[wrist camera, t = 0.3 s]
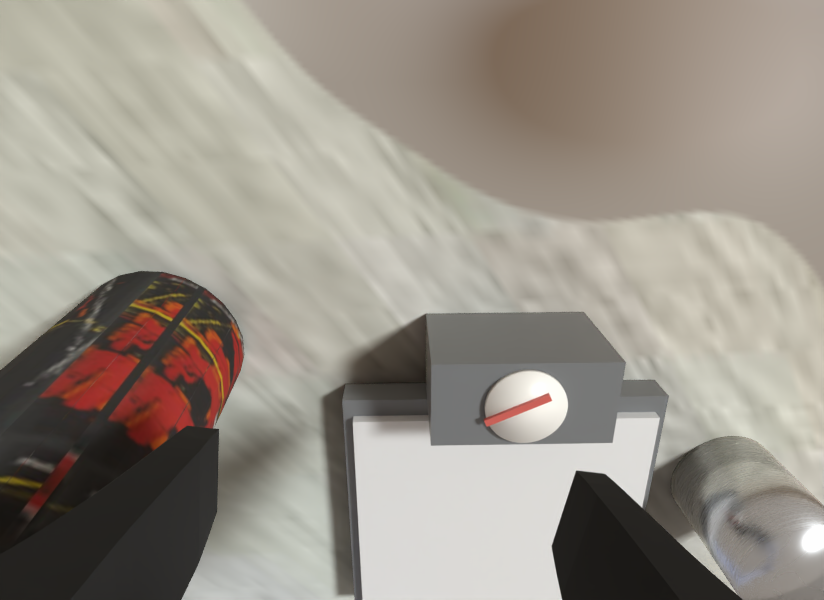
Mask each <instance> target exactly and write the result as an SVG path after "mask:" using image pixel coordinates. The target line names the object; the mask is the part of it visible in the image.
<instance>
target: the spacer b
mask: <svg viewBox="0 0 824 600" xmlns="http://www.w3.org/2000/svg"><path fill="white" fill-rule="evenodd" d="M671 492H672V495H673V498H674V500H675V501H676V503H677V504H678V506H679V507H680V509H681V510H682V512H683V513H684V515H685V516H686V518H687V519H688V521H689V522H690V524H691V525H692V527H693V528H694V530H695V531H696V533H697V534H698V536H699V537H700V539H701V540H702V542H703V543H704V545H705V546H706V548H707V549H708V551H709V552H710V554H711V555H712V557H713V558H714V560H715V561H716V563H717V564H718V566H719V567H720V569H721V570H722V572H723V573H724V575H725V576H726V578H727V579H728V581H729V582H730V584H731V585H732V587H733V588H734V590H735V591H736V593H737V594H738V596H739V597H740V598H741V599H743V600H824V505H823V504H822V503H821V502H820V501H819V500H818V499H816V498H815V497H814V496H813V495H812V494H811V493H810V492H809V491H808V490H807V489H806V488H805V487H804V486H803V485H802V484H801V483H800V482H799V481H798V480H797V479H796V478H795V477H794V476H793V475H792V474H791V473H790V472H789V471H788V470H787V469H786V468H785V467H784V466H783V465H782V464H781V463H780V462H779V461H778V460H777V459H776V458H775V457H774V456H773V455H772V454H771V453H770V452H769V451H767V450H766V449H765V448H764V447H763V446H762V445H761V444H760V443H758V442H756V441H754V440H752V439H749V438H746V437H740V436H727V437H720V438H716V439H713V440H710V441H707V442H705V443H703V444H701V445H699V446H697V447H696V448H694V449H693V450H691V451H690V452H689V453H688V454H687V455H686V456H685V457H684V458H683V459H682V460H681V461H680V462H679V464H678V465H677V467H676V468H675V471H674V473H673V476H672V479H671Z"/></svg>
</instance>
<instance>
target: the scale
mask: <svg viewBox="0 0 824 600" xmlns="http://www.w3.org/2000/svg"><path fill="white" fill-rule="evenodd" d="M625 364H626V362H625V361H624V360H623V358H622V357H621V356H620V355H619V354H618V352H617V351H616V350H615V349H614V348H613V346H612V345H611V344H610V343H609V342H608V340H607V339H606V338H605V337H604V336H603V334H602V333H601V332H600V331H599V330H598V328H597V327H596V326H595V325H594V324H593V322H592V321H591V320H590V319H589V318H588V316H587V315H586V314H585V313H584V312H546V313H457V314H426V383H390V384H345V389H344V394H343V399H342V406H343V422H344V438H345V454H346V470H347V485H348V501H349V517H350V533H351V549H352V565H353V581H354V597H355V600H562V597H561V592H560V588H559V583H558V578H557V574H556V568H555V563H554V557H553V552H552V547H551V546H552V543H553V540H554V537H555V534H556V531H557V528H558V525H559V522H560V518H561V515H562V512H563V509H564V506H565V503H566V500H567V497H568V494H569V491H570V488H571V485H572V482H573V478H574V475H575V472H576V470H577V471H586V472H595V473H603V474H606V475H607V476H608V477H609V478H611V479H612V480H613V481H614V482H615V483H616V484H617V485H618V486H620V487H621V488H622V489H623V490H624V491H625V492H626V493H627V494H628V495H629V496H630V497H631V498H632V499H633V500H634V501H636V502H637V503H638V504H639V505H640V506H641V507H642V508H643V509H644V510H645V511H646V506H647V501H648V496H649V491H650V486H651V481H652V476H653V472H654V467H655V462H656V457H657V452H658V447H659V442H660V437H661V432H662V427H663V422H664V417H665V412H666V407H667V402H668V397H669V396H668V395H667V394H666V392H665V391H664V390H663V389H662V388H661V387H660V386H659V384H658V383H657V382H656V381H655V380H623V376H624V370H625Z"/></svg>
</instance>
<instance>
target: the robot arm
mask: <svg viewBox="0 0 824 600" xmlns="http://www.w3.org/2000/svg"><path fill="white" fill-rule="evenodd" d="M218 445H219V429H213V428H204V427H195V426H186V427H184V428H183V429H182V430H180V431H179V432H178V433H176V434H175V435H173V436H172V437H171V438H169V439H168V440H167V441H165V442H164V443H163V444H161V445H160V446H159V447H158V448H156V449H155V450H154V451H152V452H151V453H150V454H148V455H147V456H146V457H144V458H143V459H142V460H140V461H139V462H138V463H136V464H135V465H134V466H132V467H131V468H130V469H128V470H127V471H126V472H124V473H123V474H122V475H120V476H119V477H117V478H116V479H115V480H113V481H112V482H110V483H109V484H108V485H106V486H105V487H104V488H102V489H101V490H99V491H98V492H97V493H95V494H94V495H92V496H91V497H90V498H88V499H87V500H85V501H84V502H82V503H81V504H79V505H78V506H76V507H75V508H73V509H72V510H70V511H69V512H67V513H66V514H64V515H63V516H61V517H60V518H58V519H57V520H55V521H54V522H52V523H51V524H49V525H48V526H46V527H45V528H43V529H42V530H40V531H38V532H37V533H35V534H33V535H32V536H30V537H29V538H27V539H25V540H24V541H22V542H20V543H19V544H17V545H15V546H14V547H12V548H10V549H9V550H7V551H5V552H3V553H2V554H0V600H181V599H182V597H183V595H184V593H185V591H186V589H187V587H188V584H189V582H190V580H191V578H192V576H193V574H194V572H195V570H196V568H197V566H198V563H199V561H200V558H201V555H202V553H203V550H204V547H205V544H206V542H207V539H208V536H209V533H210V530H211V527H212V524H213V522H214V519H215V516H216V513H217V488H218ZM551 547H552V552H553V557H554V563H555V568H556V574H557V578H558V583H559V588H560V592H561V597H562V600H743V599H741V598H740V597H739V596H738V595H737V594H736V593H734V592H733V591H732V590H731V589H730V588H729V587H727V586H726V585H725V584H724V583H723V582H722V581H720V580H719V579H718V578H717V577H716V576H715V575H714V574H712V573H711V572H710V571H709V570H708V569H707V568H706V567H705V566H704V565H702V564H701V563H700V562H699V561H698V560H697V559H696V558H695V557H694V556H693V555H691V554H690V553H689V552H688V551H687V550H686V549H685V548H684V547H683V546H682V545H681V544H680V543H679V542H677V541H676V540H675V539H674V538H673V537H672V536H671V535H670V534H669V533H668V532H667V531H666V530H665V529H664V528H663V527H662V526H661V525H659V524H658V523H657V522H656V521H655V520H654V519H653V518H652V517H651V516H650V515H649V514H648V513H647V512H646V511H645V510H644V509H643V508H642V507H641V506H640V505H639V504H638V503H637V502H636V501H634V500H633V499H632V498H631V497H630V496H629V495H628V494H627V493H626V492H625V491H624V490H623V489H622V488H621V487H620V486H618V485H617V484H616V483H615V482H614V481H613V480H612V479H611V478H609V477H608V476H607V475H606V474H603V473H595V472H586V471H577V470H576V472H575V475H574V478H573V482H572V485H571V488H570V491H569V494H568V497H567V500H566V503H565V506H564V509H563V512H562V515H561V518H560V522H559V525H558V528H557V531H556V534H555V537H554V540H553V543H552V546H551Z"/></svg>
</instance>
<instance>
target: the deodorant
mask: <svg viewBox="0 0 824 600" xmlns="http://www.w3.org/2000/svg"><path fill="white" fill-rule="evenodd" d="M243 358H244V347H243V337H242V335H241V332H240V330H239V327H238V325H237V322H236V320H235V318H234V317H233V316H232V314H231V313H230V312H229V310H228V309H227V308H226V306H225V305H224V304H223V303H222V302H221V301H220V300H219V299H217V298H216V297H215V296H214V295H213V294H211V293H210V292H209V291H208V290H207V289H205V288H203V287H201V286H199V285H198V284H196V283H194V282H192V281H190V280H188V279H186V278H183V277H179V276H175V275H172V274H168V273H164V272H148V271H139V272H134V273H129V274H125V275H120V276H118V277H116V278H114V279H112V280H110V281H109V282H107V283H105V284H103V285H102V286H100V287H99V288H98V289H97V290H96V291H94V292H93V293H92V294H91V295H90V296H88V297H87V298H86V299H85V300H84V301H82V302H81V303H80V304H79V305H78V306H77V307H75V308H74V309H73V310H72V311H71V312H69V313H68V314H67V315H66V316H65V317H63V318H62V319H61V320H60V321H59V322H57V323H56V324H55V325H54V326H53V327H52V328H50V329H49V330H48V331H47V332H46V333H44V334H43V335H42V336H41V337H40V338H38V339H37V340H36V341H35V342H34V343H32V344H31V345H30V346H29V347H28V348H27V349H25V350H24V351H23V352H22V353H21V354H19V355H18V356H17V357H16V358H15V359H13V360H12V361H11V362H10V363H9V364H7V365H6V366H5V367H4V368H3V369H2V370H0V554H2V553H3V552H5V551H7V550H9V549H10V548H12V547H14V546H15V545H17V544H19V543H20V542H22V541H24V540H25V539H27V538H29V537H30V536H32V535H33V534H35V533H37V532H38V531H40V530H42V529H43V528H45V527H46V526H48V525H49V524H51V523H52V522H54V521H55V520H57V519H58V518H60V517H61V516H63V515H64V514H66V513H67V512H69V511H70V510H72V509H73V508H75V507H76V506H78V505H79V504H81V503H82V502H84V501H85V500H87V499H88V498H90V497H91V496H92V495H94V494H95V493H97V492H98V491H99V490H101V489H102V488H104V487H105V486H106V485H108V484H109V483H110V482H112V481H113V480H115V479H116V478H117V477H119V476H120V475H122V474H123V473H124V472H126V471H127V470H128V469H130V468H131V467H132V466H134V465H135V464H136V463H138V462H139V461H140V460H142V459H143V458H144V457H146V456H147V455H148V454H150V453H151V452H152V451H154V450H155V449H156V448H158V447H159V446H160V445H161V444H163V443H164V442H165V441H167V440H168V439H169V438H171V437H172V436H173V435H175V434H176V433H178V432H179V431H180V430H182V429H183V428H184V427H186V426H195V427H204V428H213V429H214V427H215V425H216V423H217V421H218V418H219V416H220V414H221V412H222V410H223V408H224V405H225V403H226V401H227V399H228V397H229V395H230V392H231V390H232V388H233V386H234V384H235V382H236V379H237V377H238V375H239V373H240V371H241V367H242V362H243Z"/></svg>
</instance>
